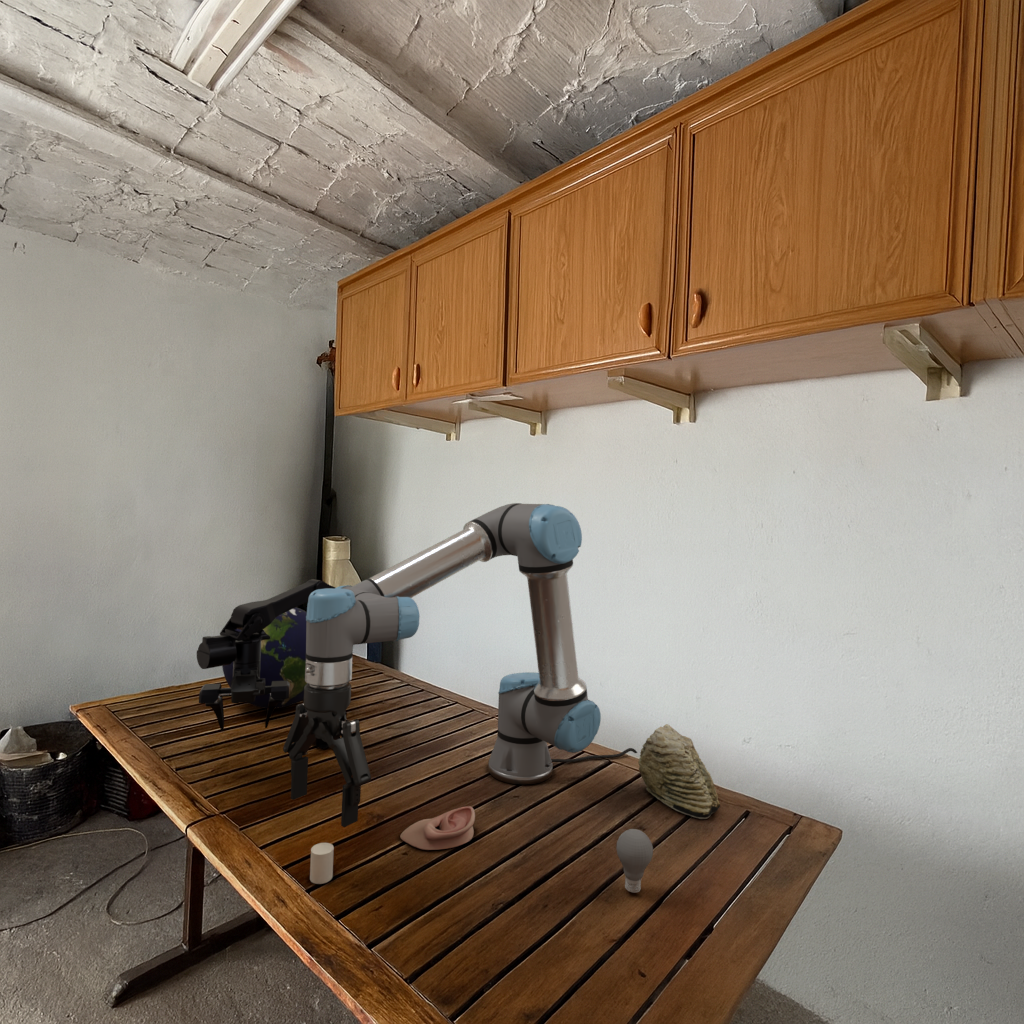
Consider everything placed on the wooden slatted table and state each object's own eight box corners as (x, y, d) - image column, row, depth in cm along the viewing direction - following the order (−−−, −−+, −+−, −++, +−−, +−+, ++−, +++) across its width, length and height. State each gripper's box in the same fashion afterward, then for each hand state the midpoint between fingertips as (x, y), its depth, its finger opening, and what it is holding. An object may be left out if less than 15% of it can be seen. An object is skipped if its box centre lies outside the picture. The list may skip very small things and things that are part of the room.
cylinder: (309, 885, 104) (310, 855, 103) (310, 872, 107) (311, 843, 107) (332, 882, 104) (333, 853, 104) (332, 870, 108) (334, 841, 108)
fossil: (649, 780, 149) (652, 716, 148) (724, 809, 136) (728, 740, 135) (628, 791, 142) (631, 725, 142) (704, 823, 129) (708, 750, 129)
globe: (289, 685, 209) (292, 594, 208) (348, 705, 191) (352, 606, 191) (199, 706, 185) (203, 604, 184) (258, 732, 167) (262, 619, 167)
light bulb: (610, 879, 108) (613, 822, 108) (644, 879, 109) (647, 822, 109) (619, 902, 102) (622, 840, 102) (655, 901, 103) (658, 840, 103)
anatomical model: (394, 823, 116) (416, 795, 127) (393, 845, 116) (415, 815, 127) (464, 834, 113) (480, 805, 125) (463, 856, 113) (479, 825, 125)
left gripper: (196, 672, 133) (193, 745, 134) (289, 668, 139) (287, 739, 140) (203, 659, 144) (201, 727, 144) (290, 656, 150) (288, 721, 150)
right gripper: (265, 672, 110) (260, 793, 110) (359, 705, 95) (353, 845, 95) (302, 664, 116) (298, 779, 116) (396, 694, 101) (391, 826, 101)
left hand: (244, 729), depth 144 cm, fingers open, 9 cm apart
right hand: (323, 809), depth 105 cm, fingers open, 13 cm apart
